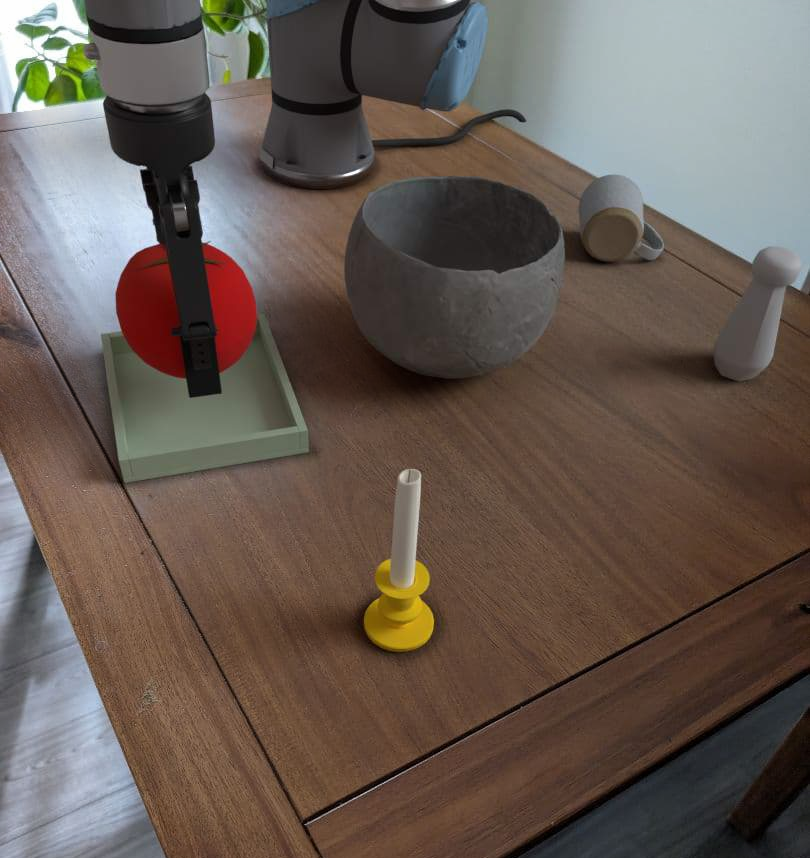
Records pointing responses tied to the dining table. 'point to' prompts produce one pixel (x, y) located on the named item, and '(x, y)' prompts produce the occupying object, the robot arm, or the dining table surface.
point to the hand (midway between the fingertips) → (194, 351)
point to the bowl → (453, 273)
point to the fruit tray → (201, 412)
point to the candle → (402, 579)
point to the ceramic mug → (616, 221)
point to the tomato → (157, 312)
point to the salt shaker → (756, 316)
